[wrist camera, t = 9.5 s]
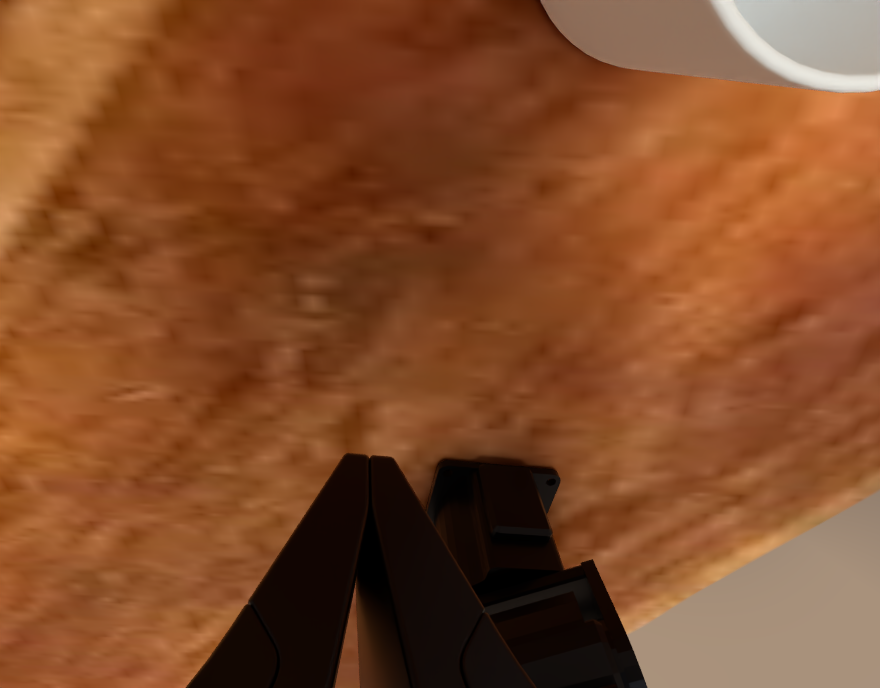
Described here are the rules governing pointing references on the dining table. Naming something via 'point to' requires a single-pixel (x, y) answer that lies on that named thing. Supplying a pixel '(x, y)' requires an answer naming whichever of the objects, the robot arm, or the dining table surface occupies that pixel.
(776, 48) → the mug
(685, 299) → the dining table surface
